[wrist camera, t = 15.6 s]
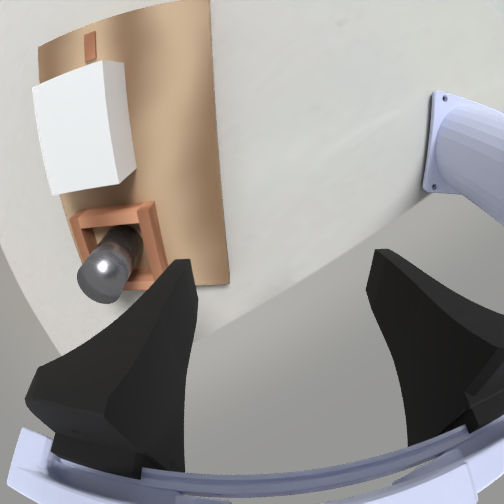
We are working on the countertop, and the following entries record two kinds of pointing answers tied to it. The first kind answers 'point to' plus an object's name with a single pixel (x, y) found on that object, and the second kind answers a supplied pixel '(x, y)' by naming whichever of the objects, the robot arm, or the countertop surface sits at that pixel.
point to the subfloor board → (155, 140)
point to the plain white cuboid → (85, 127)
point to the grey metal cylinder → (110, 264)
